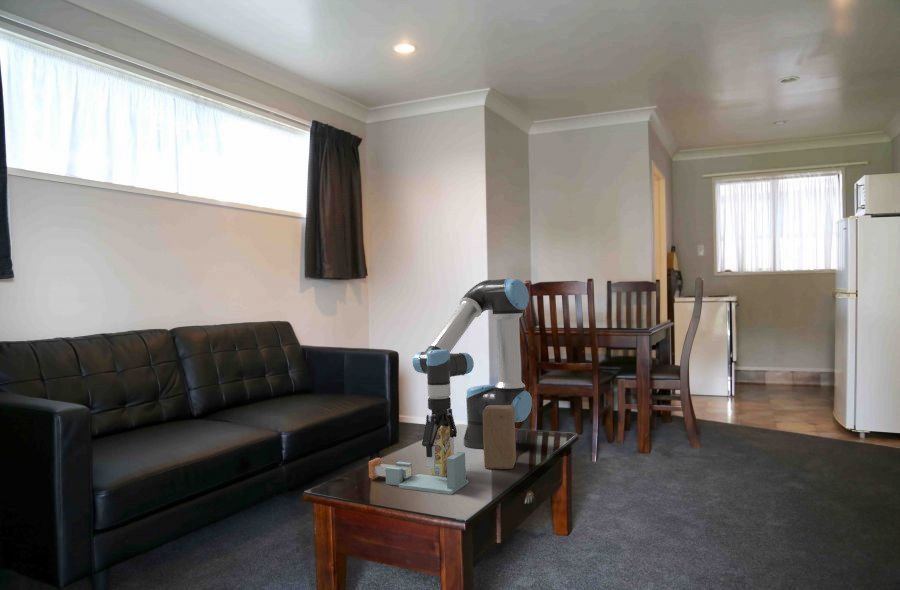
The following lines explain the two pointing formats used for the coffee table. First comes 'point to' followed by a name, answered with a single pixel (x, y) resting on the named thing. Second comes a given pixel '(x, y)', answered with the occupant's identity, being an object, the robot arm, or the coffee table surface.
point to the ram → (379, 469)
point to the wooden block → (499, 437)
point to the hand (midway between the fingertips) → (440, 461)
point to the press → (432, 477)
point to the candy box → (441, 451)
